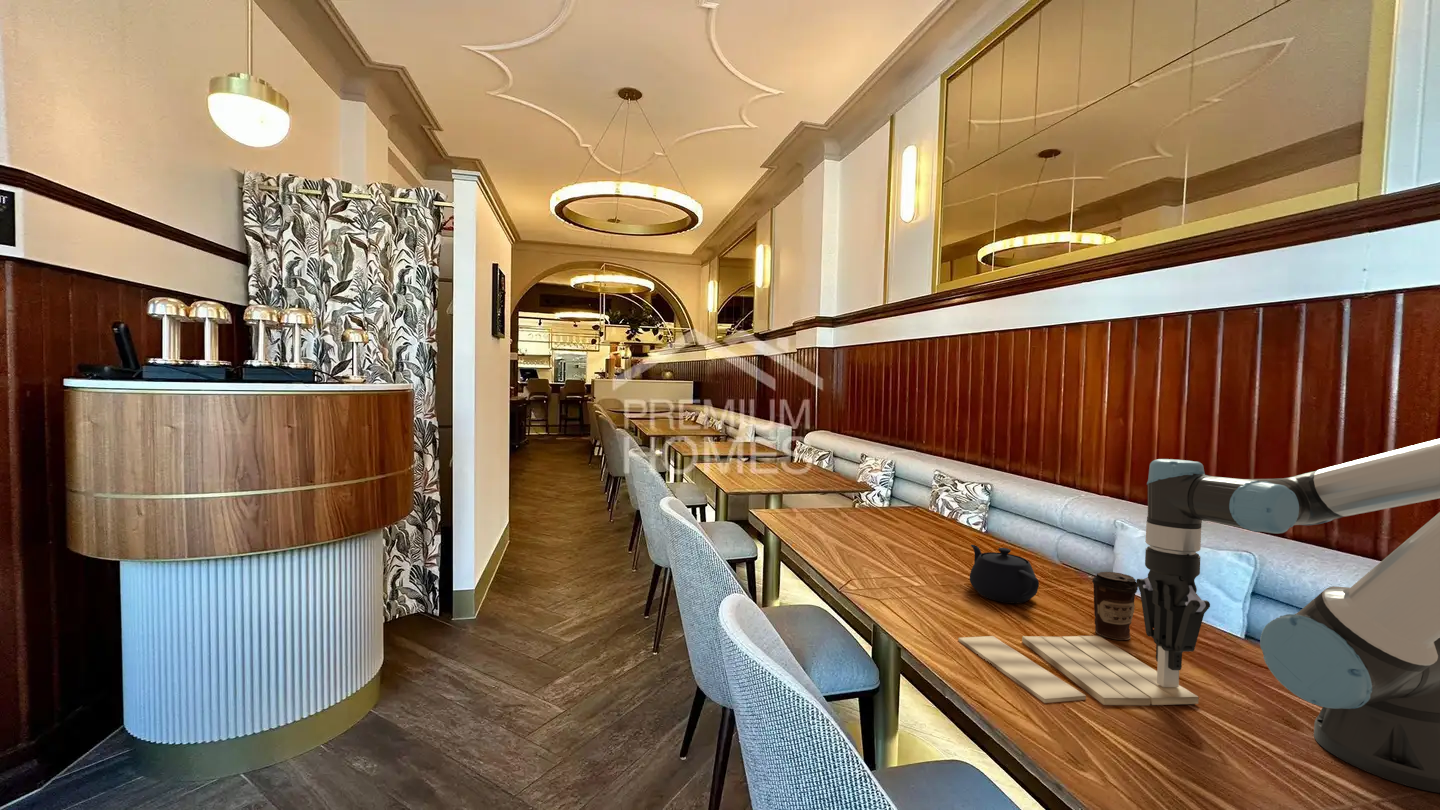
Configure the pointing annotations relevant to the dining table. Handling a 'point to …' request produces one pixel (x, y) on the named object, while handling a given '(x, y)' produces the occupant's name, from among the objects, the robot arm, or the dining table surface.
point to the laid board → (1086, 671)
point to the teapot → (1003, 576)
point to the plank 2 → (1131, 670)
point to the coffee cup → (1114, 604)
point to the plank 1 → (1022, 670)
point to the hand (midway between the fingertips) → (1167, 684)
